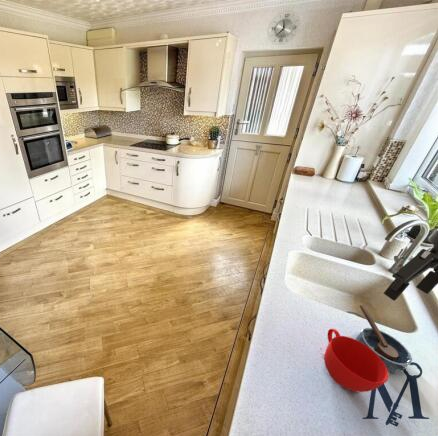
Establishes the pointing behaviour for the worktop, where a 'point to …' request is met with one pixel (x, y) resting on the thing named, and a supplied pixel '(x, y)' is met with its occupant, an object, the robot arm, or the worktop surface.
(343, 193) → the worktop surface
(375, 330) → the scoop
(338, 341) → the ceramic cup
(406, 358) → the bowl
